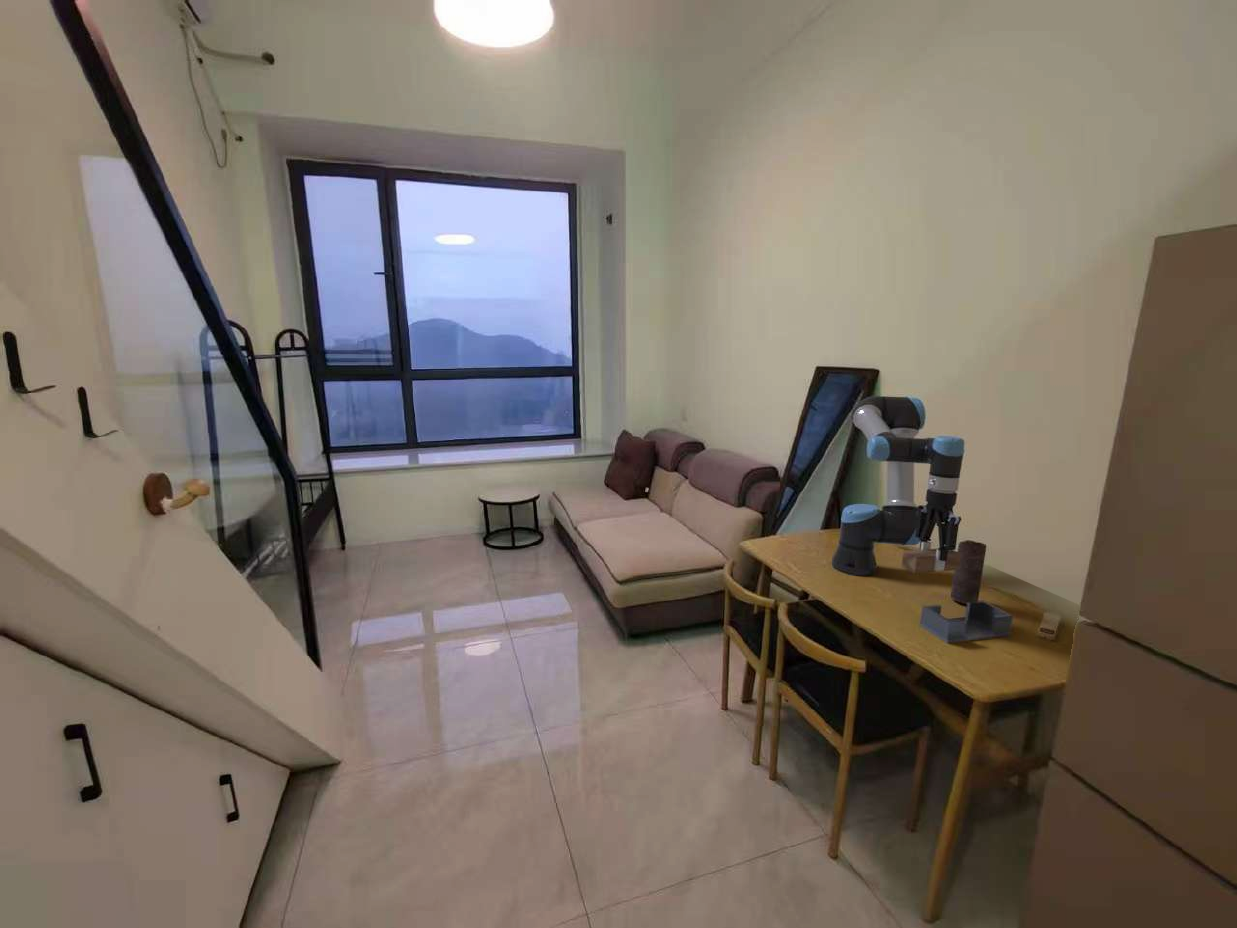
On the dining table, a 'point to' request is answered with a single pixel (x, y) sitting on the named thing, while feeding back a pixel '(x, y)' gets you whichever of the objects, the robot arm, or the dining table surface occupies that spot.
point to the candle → (969, 572)
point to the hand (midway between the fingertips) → (931, 566)
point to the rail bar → (929, 560)
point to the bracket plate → (967, 622)
